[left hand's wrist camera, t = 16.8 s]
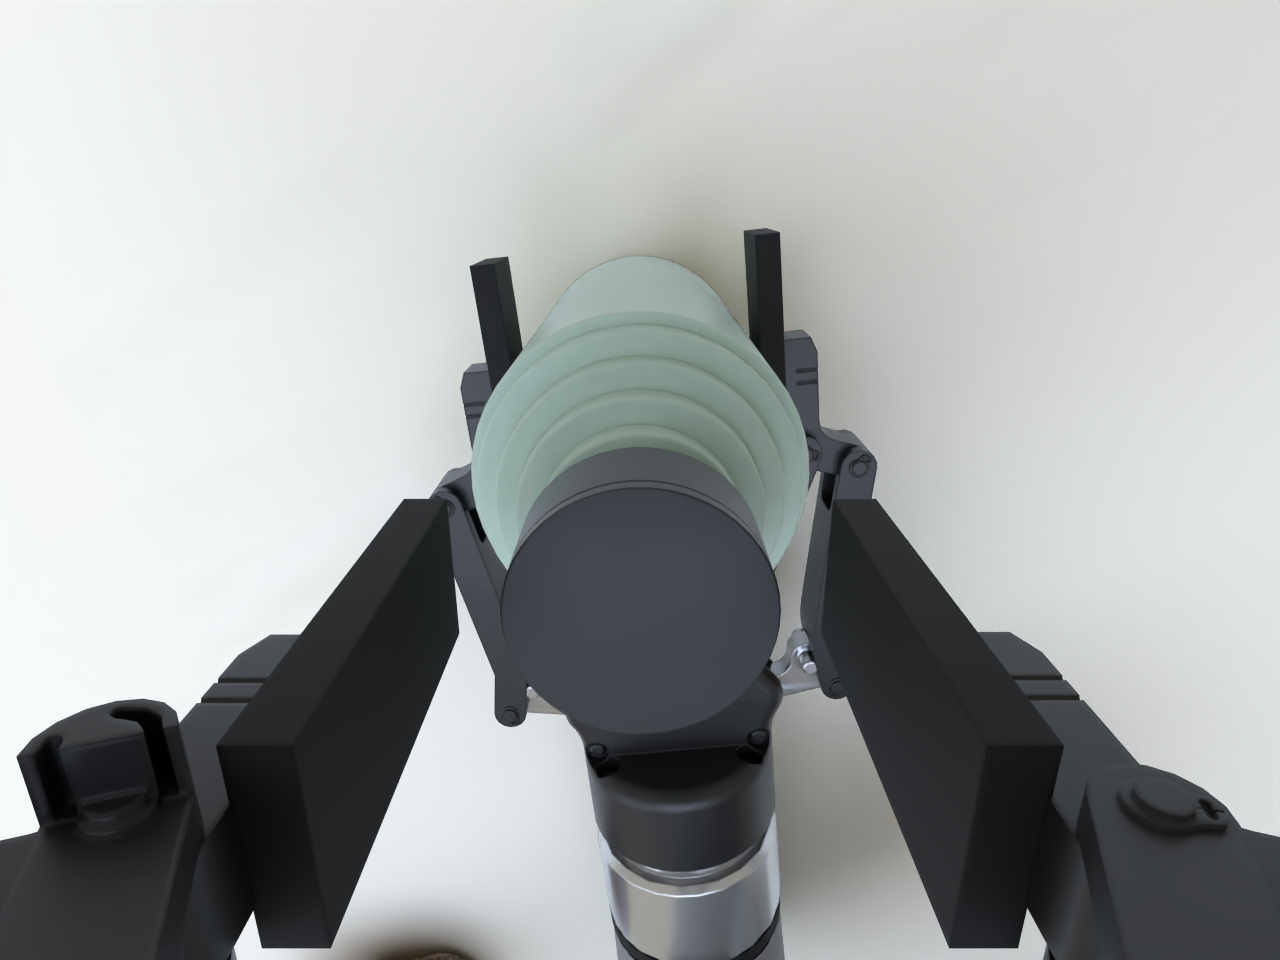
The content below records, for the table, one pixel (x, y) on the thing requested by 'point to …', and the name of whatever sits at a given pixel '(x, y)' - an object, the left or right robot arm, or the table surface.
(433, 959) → the rock
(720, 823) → the right robot arm
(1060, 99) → the table surface
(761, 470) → the bottle
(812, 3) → the table surface
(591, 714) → the cap
